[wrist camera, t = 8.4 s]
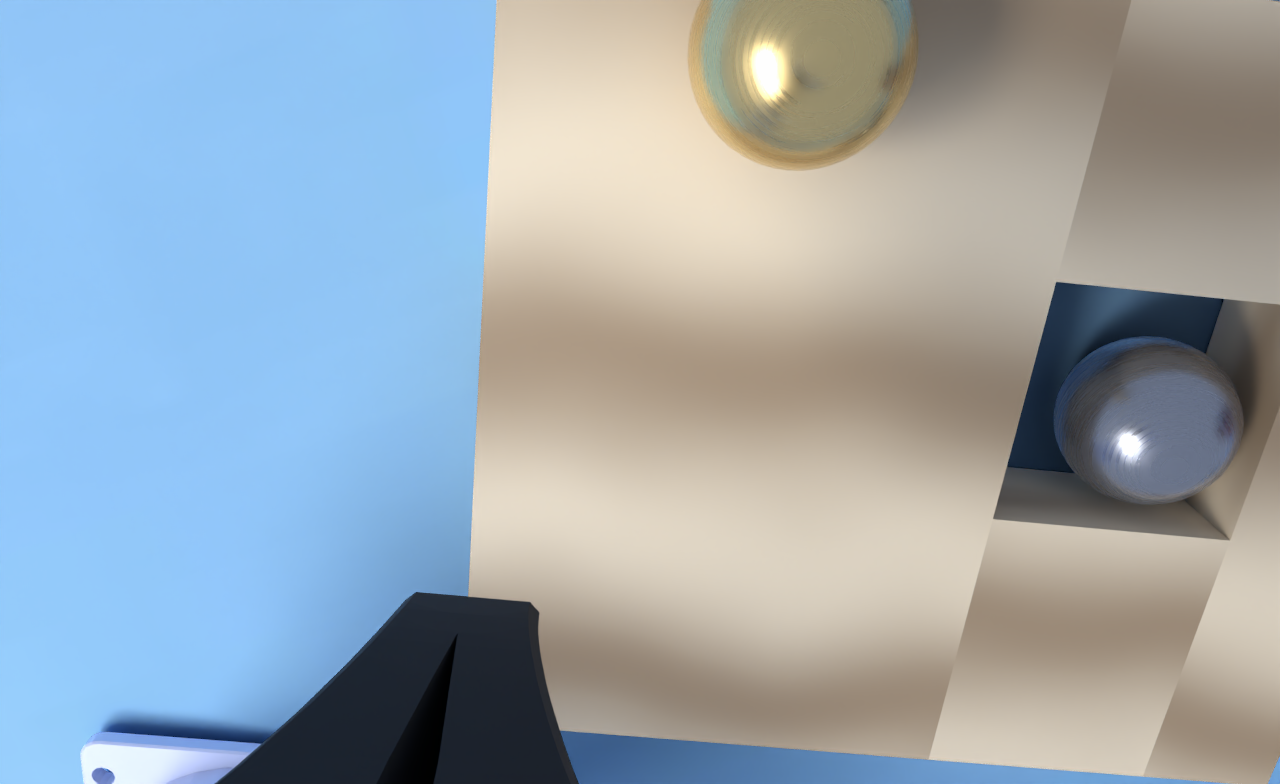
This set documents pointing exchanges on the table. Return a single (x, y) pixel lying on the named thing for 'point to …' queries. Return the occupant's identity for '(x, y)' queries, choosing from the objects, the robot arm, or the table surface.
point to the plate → (879, 393)
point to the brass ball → (801, 75)
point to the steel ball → (1148, 420)
